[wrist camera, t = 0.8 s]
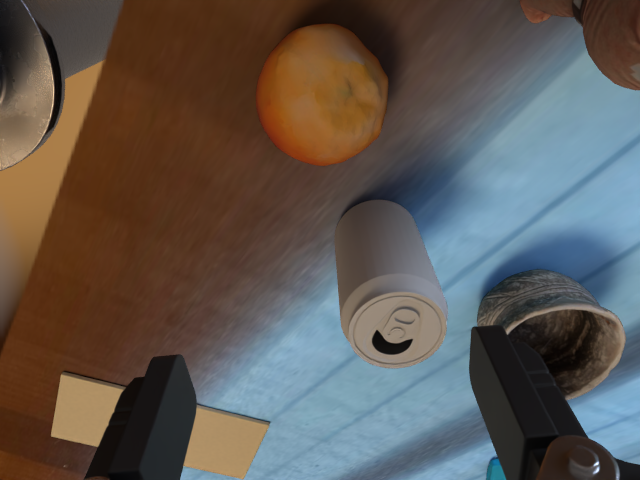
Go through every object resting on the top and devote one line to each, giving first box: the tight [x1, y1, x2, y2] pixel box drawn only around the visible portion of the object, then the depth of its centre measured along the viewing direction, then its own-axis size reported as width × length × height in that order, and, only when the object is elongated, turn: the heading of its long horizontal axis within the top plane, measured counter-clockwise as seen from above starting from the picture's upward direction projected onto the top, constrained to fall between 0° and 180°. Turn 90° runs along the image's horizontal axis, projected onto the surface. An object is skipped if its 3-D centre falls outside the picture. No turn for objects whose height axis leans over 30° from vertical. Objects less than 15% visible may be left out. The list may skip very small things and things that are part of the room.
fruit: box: [256, 24, 388, 166], centre depth 31 cm, size 8×8×8 cm
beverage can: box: [335, 200, 448, 368], centre depth 33 cm, size 6×6×12 cm
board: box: [51, 372, 270, 479], centre depth 49 cm, size 20×9×1 cm, turn 69°
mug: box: [477, 269, 626, 401], centre depth 38 cm, size 10×12×10 cm
